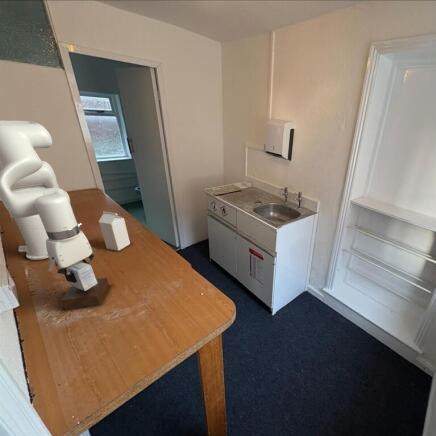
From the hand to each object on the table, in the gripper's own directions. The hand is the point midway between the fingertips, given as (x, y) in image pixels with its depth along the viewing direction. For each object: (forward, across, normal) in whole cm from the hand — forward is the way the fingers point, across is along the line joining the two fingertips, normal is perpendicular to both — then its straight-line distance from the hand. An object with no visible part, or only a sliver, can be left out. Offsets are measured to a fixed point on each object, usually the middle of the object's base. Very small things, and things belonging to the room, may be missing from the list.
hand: (80, 276), depth 83 cm
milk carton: (+10, -30, -22) cm, 38 cm away
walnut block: (+10, 0, 0) cm, 10 cm away
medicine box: (+4, 0, 0) cm, 4 cm away
